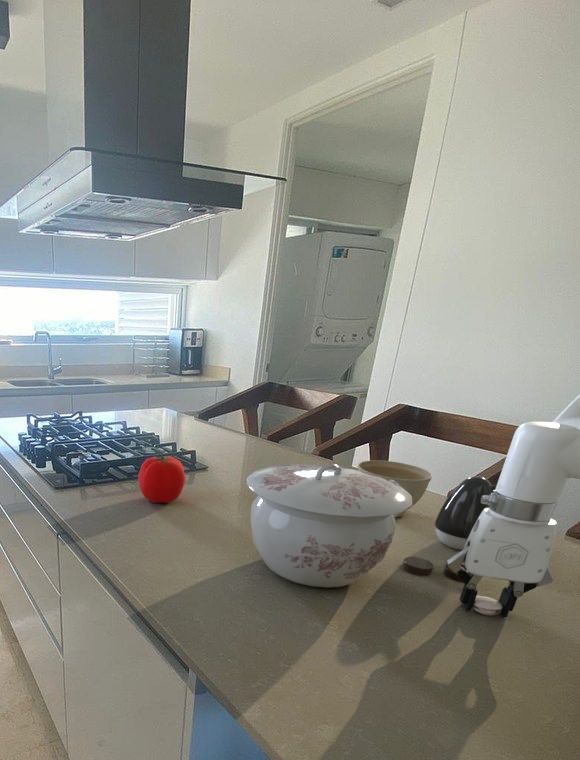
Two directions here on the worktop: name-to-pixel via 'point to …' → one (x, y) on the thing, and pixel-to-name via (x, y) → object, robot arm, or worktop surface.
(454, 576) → the middle disc
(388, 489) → the chamber pot
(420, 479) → the planter bowl
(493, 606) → the macaroon
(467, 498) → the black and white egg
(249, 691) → the worktop surface
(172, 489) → the tomato
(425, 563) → the far disc
